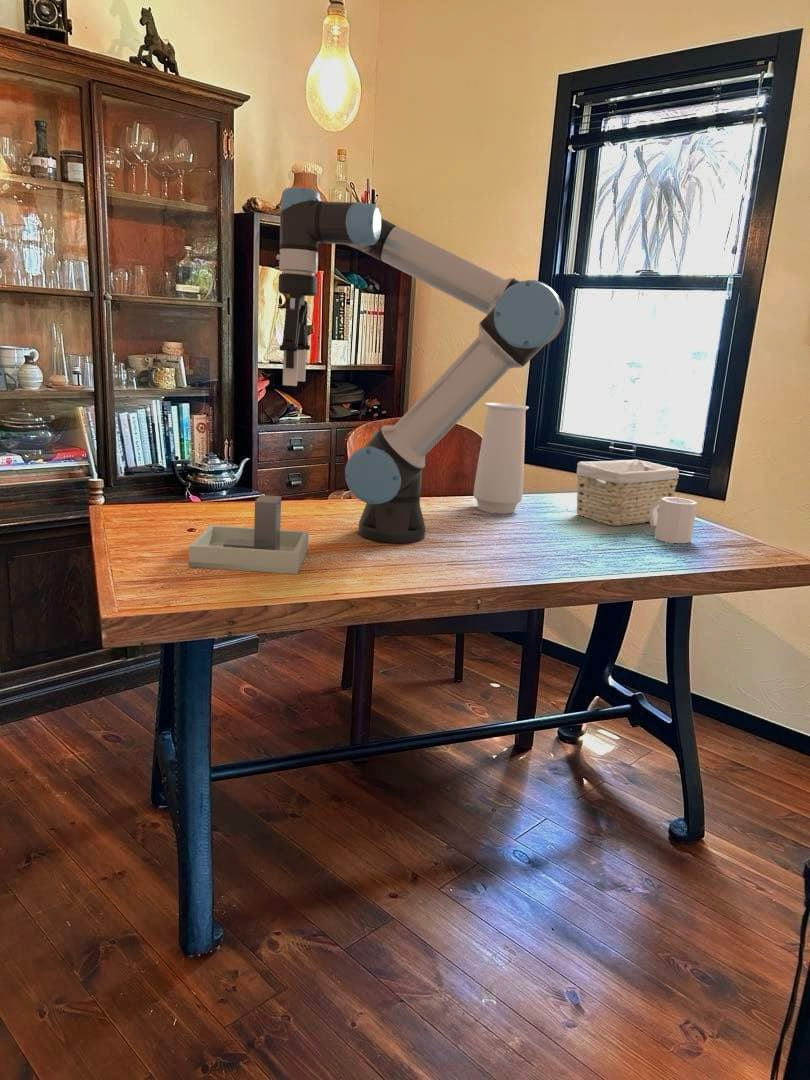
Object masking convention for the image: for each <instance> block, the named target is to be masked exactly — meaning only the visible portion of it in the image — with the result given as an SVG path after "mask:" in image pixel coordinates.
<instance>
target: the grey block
mask: <svg viewBox="0 0 810 1080" xmlns="http://www.w3.org/2000/svg"><path fill="white" fill-rule="evenodd" d="M281 508H282V495H281V496H280V495H269V494H268V495H267V494H266V495H265V494H260V495H259V496H258V497H257V498H256V500H255V501H254V522H253V523H254V524H253V525H254V527H253V528H254V541H251V540H236V539H228V540H227V541H226V542H225V543H224V544H223V547H234V548H249V549H264V550H279V551H280V530H281V521H282V520H281V519H282V517H281V516H282V509H281Z"/></svg>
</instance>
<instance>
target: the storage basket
mask: <svg viewBox="0 0 810 1080" xmlns="http://www.w3.org/2000/svg"><path fill="white" fill-rule="evenodd" d="M679 477H680V470H679V468H678V467H672V466H667V465H664V464H663V465H662V464H660V463H654V462H651V461H646V460H641V459H620V460H618V459H617V460H602V461H600V460H598V461H597V460H595V461H592V460H591V461H583V460H582V461H581V460H580V461H578V462H577V467H576V479H577V481H576V482H577V483H576V484H577V486H576V490H577V491H576V492H577V494H576V514H577V515H578V516H580V515H581V516H580V517H583V516H584V517H583V518H586V517H587V518H586V519H589V518H590V520H591V519H593V520H592V521H594V520H596V522H598V521H599V522H598V523H600V522H602V524H604V525H606V524H608V525H607V526H614V527H622V525H623V526H629V525H630V524H633V525H638V524H646V523H645V522H649V523H650V510H649V508H650V507H651V506H652V505H653V504H654V503H655V502H657V501H658V500H660V499H661V498H664V497H675V496H674V494H675V491H676V488H677V485H678V482H679V481H678V479H679ZM657 512H659V508H658V509H657Z"/></svg>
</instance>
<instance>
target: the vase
mask: <svg viewBox="0 0 810 1080" xmlns="http://www.w3.org/2000/svg"><path fill="white" fill-rule="evenodd" d="M485 406H486V407H487V411H486V415H485V421H484V426H483V430H482V431H483V432H482V438H481V443H480V448H479V449H480V450H479V455H478V461H477V466H476V473H475V479H474V480H475V481H474V486H473V498H474V499H476V502H477V508H478V510H480V511H482V512H485V513H488V514H490V513H491V514H499V515H505V514H506V515H507V514H513V513H514V512H515V511H516V507H517V505H518V504H519V503H521V501H522V500H523V491H524V490H523V489H524V471H525V470H524V469H525V450H526V449H525V448H526V447H525V444H526V442H525V441H526V413H527V412H526V411H527V410H528V409H529V408H530V407H529V406H528V405H524V404H515V403H509V402H508V403H506V402H485Z"/></svg>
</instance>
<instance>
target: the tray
mask: <svg viewBox="0 0 810 1080" xmlns="http://www.w3.org/2000/svg"><path fill="white" fill-rule="evenodd" d="M228 539H236V540H251V541H254V527H248V526H247V527H245V526H235V525H220V524H219V525H218V524H209V525H208V526H207V527H206V528H205V529H204V530H203V531H202V532H201V533H200V534H199V535H198V536H197V537H196V538H195V539H194V540H193V541H192V542H191V543H190V544H189V546H188V567H189V568H198V569H199V568H201V569H202V568H203V569H215V570H230V571H242V572H243V571H245V572H259V573H260V572H261V573H274V574H275V573H277V574H292V575H293V574H294V575H298V574H299V572H300V569H301V567H302V565H303V563H304V561H305V558H306V556H307V553H308V551H309V531H307V530H294V529H291V530H290V529H280V551H279V550H264V549H249V548H234V547H223V544H224V543H225V542H226V541H227V540H228Z"/></svg>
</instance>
